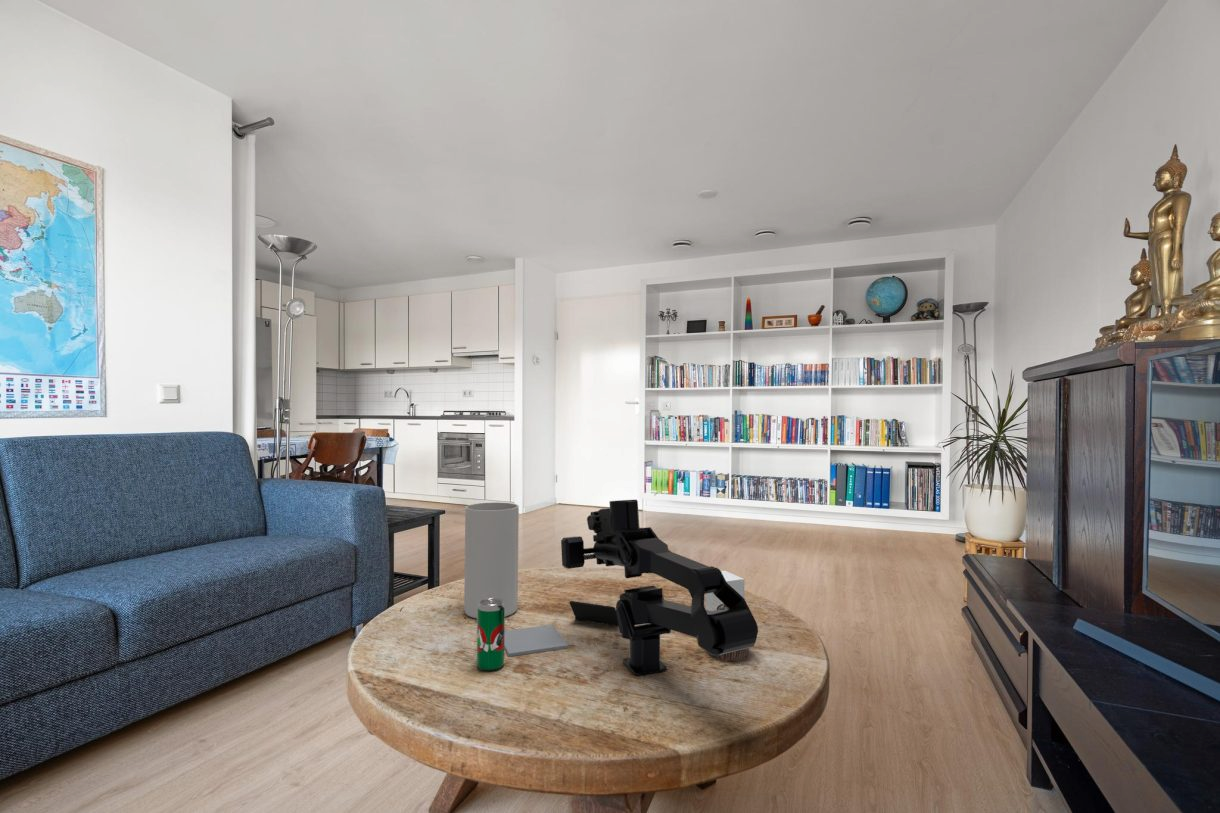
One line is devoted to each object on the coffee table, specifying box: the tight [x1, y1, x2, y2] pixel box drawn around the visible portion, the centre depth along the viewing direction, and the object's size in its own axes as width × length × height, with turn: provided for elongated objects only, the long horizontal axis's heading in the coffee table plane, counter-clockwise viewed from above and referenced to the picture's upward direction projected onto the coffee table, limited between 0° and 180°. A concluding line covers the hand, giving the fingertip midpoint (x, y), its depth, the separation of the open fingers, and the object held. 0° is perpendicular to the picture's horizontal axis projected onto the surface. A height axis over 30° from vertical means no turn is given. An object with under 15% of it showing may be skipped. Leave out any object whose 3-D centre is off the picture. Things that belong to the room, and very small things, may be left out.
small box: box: [705, 570, 745, 611], centre depth 130 cm, size 8×6×10 cm
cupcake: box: [706, 602, 750, 662], centre depth 112 cm, size 10×10×10 cm
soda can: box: [476, 598, 506, 672], centre depth 106 cm, size 5×5×12 cm
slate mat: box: [504, 624, 569, 658], centre depth 117 cm, size 12×12×1 cm
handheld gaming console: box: [569, 600, 619, 628], centre depth 129 cm, size 12×7×10 cm
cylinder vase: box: [463, 501, 520, 620], centre depth 135 cm, size 12×12×25 cm
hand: (587, 546), depth 129 cm, fingers open, 9 cm apart
